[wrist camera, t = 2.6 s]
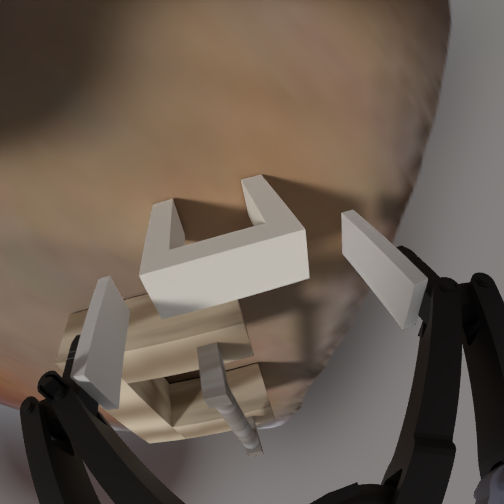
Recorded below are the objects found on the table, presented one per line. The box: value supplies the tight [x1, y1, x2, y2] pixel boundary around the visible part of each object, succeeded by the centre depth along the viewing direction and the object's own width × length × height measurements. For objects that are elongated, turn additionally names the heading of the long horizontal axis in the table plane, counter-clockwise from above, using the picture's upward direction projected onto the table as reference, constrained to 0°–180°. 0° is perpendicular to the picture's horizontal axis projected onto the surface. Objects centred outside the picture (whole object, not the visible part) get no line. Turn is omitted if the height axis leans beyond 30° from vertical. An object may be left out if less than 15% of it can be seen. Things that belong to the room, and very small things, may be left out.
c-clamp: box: [55, 294, 275, 457], centre depth 24 cm, size 18×16×10 cm
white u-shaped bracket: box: [139, 175, 309, 319], centre depth 17 cm, size 3×8×8 cm, turn 101°
